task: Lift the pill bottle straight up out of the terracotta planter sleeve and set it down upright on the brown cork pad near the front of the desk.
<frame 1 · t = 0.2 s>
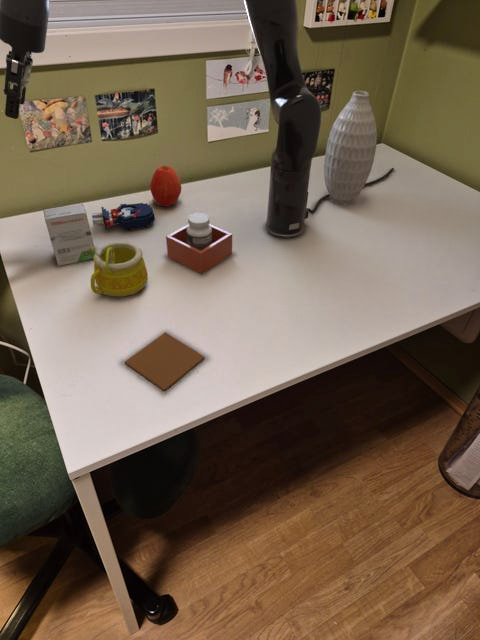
hand: (15, 109, 89), 31 cm above the table, tool tilted 20°, fingers open, 8 cm apart
figurine: (124, 225, 119), on the table
planter: (200, 255, 109), on the table
pill bottle: (200, 256, 109), resting in planter
cork pad: (165, 361, 83), on the table
ink box: (76, 257, 107), on the table
mug: (119, 287, 99), on the table
vase: (341, 200, 132), on the table
red egg-shaped piece: (167, 204, 128), on the table
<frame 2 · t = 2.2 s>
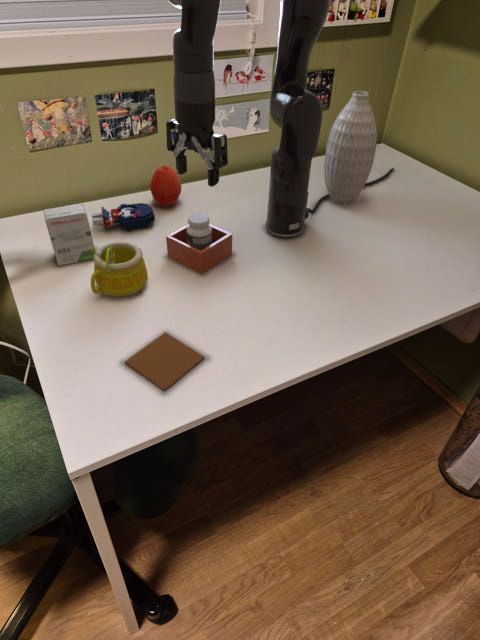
hand: (197, 179, 96), 19 cm above the table, tool pointing down, fingers open, 8 cm apart
nothing on the table moved.
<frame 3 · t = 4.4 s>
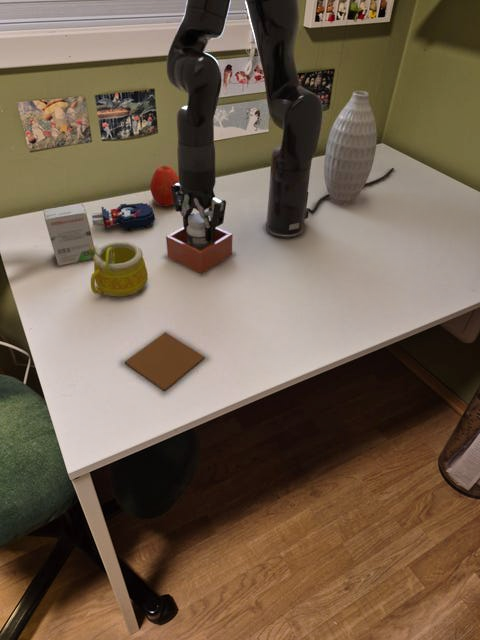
hand: (199, 234, 105), 6 cm above the table, tool pointing down, fingers closed on pill bottle, 5 cm apart
pill bottle: (200, 256, 109), resting in planter, touching gripper
everything else where it was.
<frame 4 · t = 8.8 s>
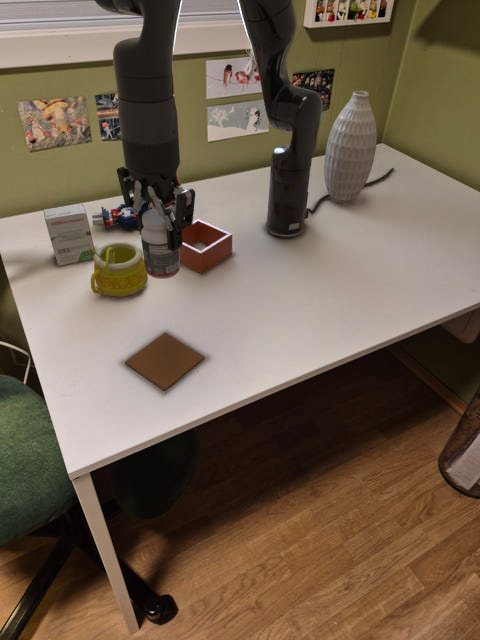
hand: (160, 240, 73), 22 cm above the table, tool pointing down, fingers closed on pill bottle, 5 cm apart
pill bottle: (163, 271, 77), point 16 cm above the table, touching gripper
everything else where it was.
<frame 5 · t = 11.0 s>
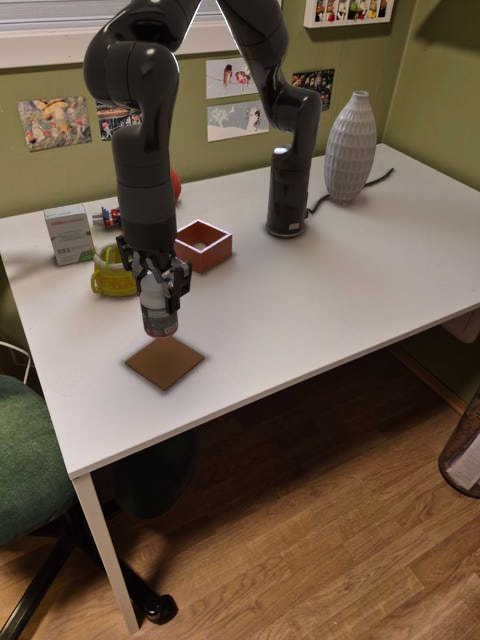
hand: (158, 303, 75), 13 cm above the table, tool pointing down, fingers closed on pill bottle, 5 cm apart
pill bottle: (161, 329, 78), point 8 cm above the table, touching gripper
everything else where it was.
when the fingers open (6 cm above the table, at t = 13.2 s): pill bottle stays where it is, resting on cork pad.
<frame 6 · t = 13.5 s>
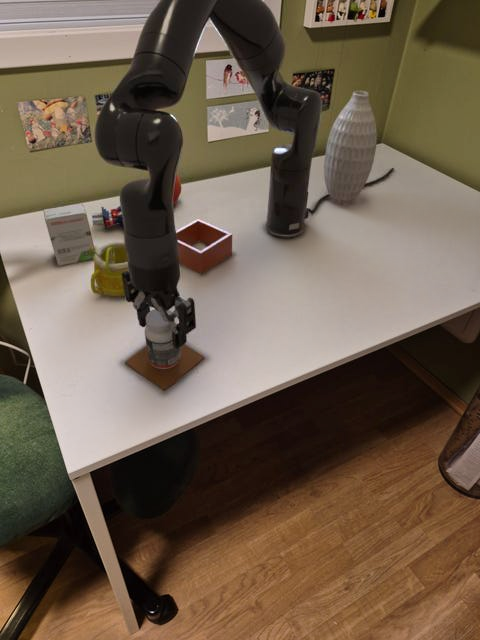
hand: (162, 334, 79), 7 cm above the table, tool pointing down, fingers open, 7 cm apart
pill bottle: (165, 359, 83), resting on cork pad
everything else where it was.
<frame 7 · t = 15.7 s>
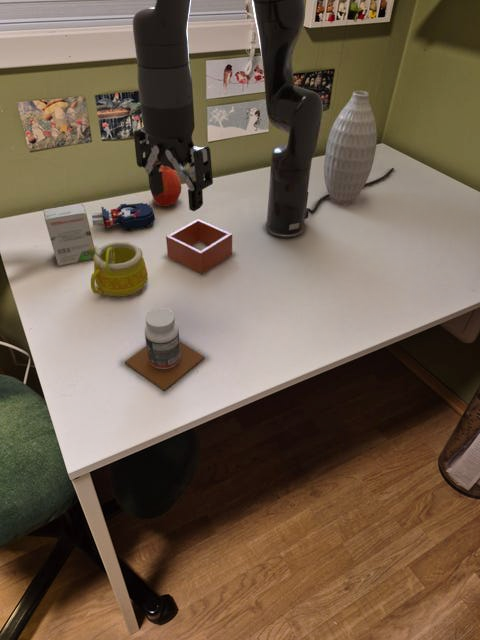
hand: (176, 201, 77), 24 cm above the table, tool pointing down, fingers open, 8 cm apart
nothing on the table moved.
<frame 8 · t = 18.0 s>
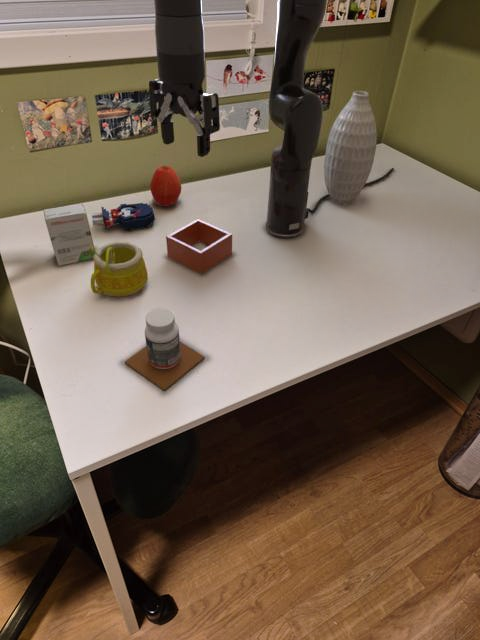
hand: (185, 149, 84), 28 cm above the table, tool pointing down, fingers open, 8 cm apart
nothing on the table moved.
at the end: pill bottle inside the target area on the cork pad (0.1 cm from its centre), point 0.3 cm above the cork pad's base; pill bottle tilted 0° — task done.
